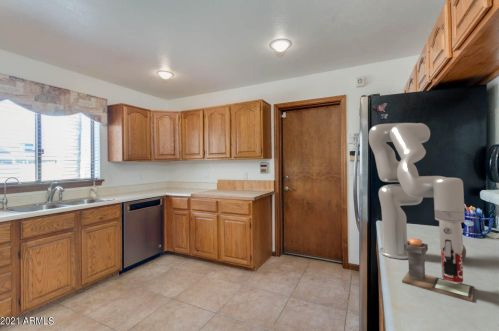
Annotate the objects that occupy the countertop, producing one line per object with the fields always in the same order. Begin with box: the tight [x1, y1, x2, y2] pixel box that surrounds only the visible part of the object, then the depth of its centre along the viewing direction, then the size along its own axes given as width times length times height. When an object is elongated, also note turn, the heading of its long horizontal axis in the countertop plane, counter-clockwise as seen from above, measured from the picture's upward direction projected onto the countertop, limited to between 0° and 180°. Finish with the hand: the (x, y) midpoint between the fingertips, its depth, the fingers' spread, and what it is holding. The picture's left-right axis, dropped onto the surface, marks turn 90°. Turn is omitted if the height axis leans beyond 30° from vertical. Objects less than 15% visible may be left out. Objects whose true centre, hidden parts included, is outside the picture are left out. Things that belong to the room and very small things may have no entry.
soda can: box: [440, 248, 464, 284], centre depth 78 cm, size 5×5×12 cm
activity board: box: [401, 240, 475, 303], centre depth 81 cm, size 18×10×13 cm, turn 44°
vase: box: [462, 244, 467, 261], centre depth 101 cm, size 7×7×9 cm
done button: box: [408, 238, 423, 247], centre depth 85 cm, size 4×4×2 cm
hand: (451, 271), depth 78 cm, fingers closed on soda can, 4 cm apart
